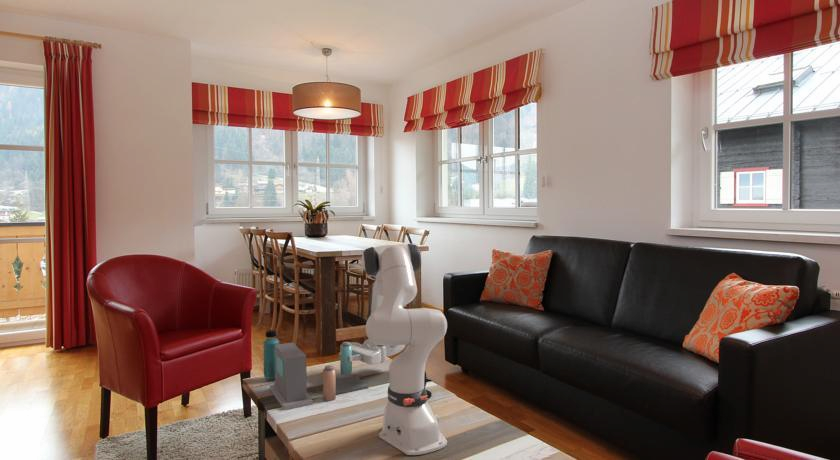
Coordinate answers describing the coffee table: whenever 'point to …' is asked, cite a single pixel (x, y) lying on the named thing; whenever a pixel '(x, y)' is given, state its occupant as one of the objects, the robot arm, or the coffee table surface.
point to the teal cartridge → (345, 358)
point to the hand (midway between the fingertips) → (344, 357)
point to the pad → (349, 384)
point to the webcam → (425, 385)
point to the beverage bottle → (269, 354)
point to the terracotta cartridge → (329, 383)
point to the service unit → (290, 377)
